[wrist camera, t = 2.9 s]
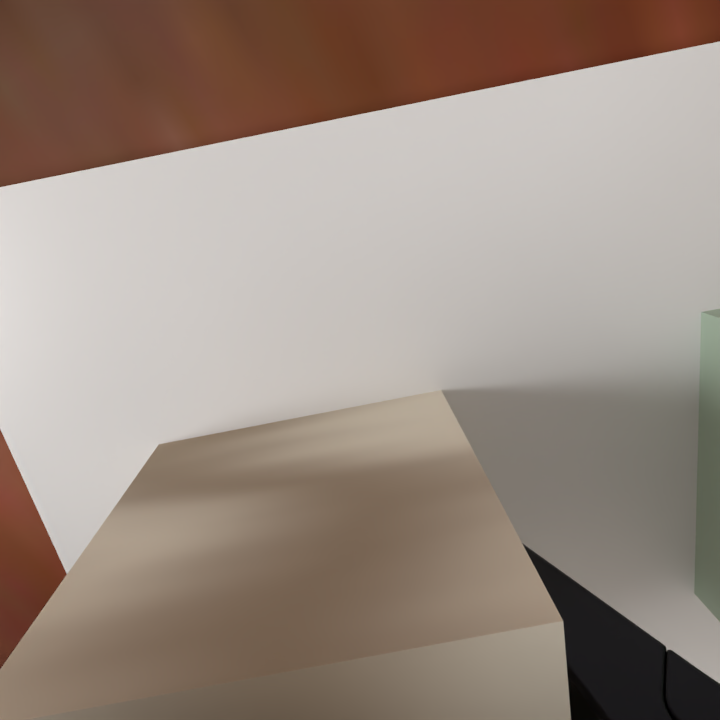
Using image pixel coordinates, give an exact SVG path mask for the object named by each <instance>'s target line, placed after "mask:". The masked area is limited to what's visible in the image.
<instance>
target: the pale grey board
mask: <svg viewBox="0 0 720 720" xmlns="http://www.w3.org/2000/svg"><path fill="white" fill-rule="evenodd" d="M715 309H720V42H715V43H710V44H705V45H700V46H695V47H690V48H685V49H680V50H675V51H670V52H665V53H661V54H656V55H651V56H646V57H641V58H636V59H631V60H626V61H621V62H616V63H611V64H606V65H601V66H596V67H591V68H586V69H582V70H577V71H572V72H567V73H562V74H557V75H552V76H547V77H542V78H537V79H532V80H527V81H522V82H517V83H512V84H508V85H503V86H498V87H493V88H488V89H483V90H478V91H473V92H468V93H463V94H458V95H453V96H448V97H443V98H438V99H434V100H429V101H424V102H419V103H414V104H409V105H404V106H399V107H394V108H389V109H384V110H379V111H374V112H369V113H364V114H359V115H355V116H350V117H345V118H340V119H335V120H330V121H325V122H320V123H315V124H310V125H305V126H300V127H295V128H290V129H285V130H281V131H276V132H271V133H266V134H261V135H256V136H251V137H246V138H241V139H236V140H231V141H226V142H221V143H216V144H211V145H207V146H202V147H197V148H192V149H187V150H182V151H177V152H172V153H167V154H162V155H157V156H152V157H147V158H142V159H137V160H132V161H128V162H123V163H118V164H113V165H108V166H103V167H98V168H93V169H88V170H83V171H78V172H73V173H68V174H63V175H58V176H54V177H49V178H44V179H39V180H34V181H29V182H24V183H19V184H14V185H9V186H4V187H0V429H1V432H2V434H3V436H4V438H5V440H6V442H7V445H8V447H9V449H10V451H11V453H12V455H13V458H14V460H15V462H16V464H17V466H18V469H19V471H20V473H21V475H22V477H23V479H24V482H25V484H26V486H27V488H28V490H29V493H30V495H31V497H32V499H33V501H34V503H35V506H36V508H37V510H38V512H39V514H40V516H41V519H42V521H43V523H44V525H45V527H46V530H47V532H48V534H49V536H50V538H51V540H52V543H53V545H54V547H55V549H56V551H57V554H58V556H59V558H60V560H61V562H62V564H63V567H64V569H65V571H66V573H67V574H68V572H69V571H70V570H71V568H72V567H73V565H74V564H75V562H76V561H77V560H78V558H79V557H80V555H81V554H82V552H83V551H84V550H85V548H86V547H87V545H88V544H89V543H90V541H91V540H92V538H93V537H94V535H95V534H96V533H97V531H98V530H99V528H100V527H101V526H102V524H103V523H104V521H105V520H106V518H107V517H108V516H109V514H110V513H111V511H112V510H113V509H114V507H115V506H116V504H117V503H118V501H119V500H120V499H121V497H122V496H123V494H124V493H125V491H126V490H127V489H128V487H129V486H130V484H131V483H132V482H133V480H134V479H135V477H136V476H137V474H138V473H139V472H140V470H141V469H142V467H143V466H144V465H145V463H146V462H147V460H148V459H149V457H150V456H151V455H152V453H153V452H154V450H155V449H156V447H157V446H158V445H159V444H163V443H169V442H174V441H179V440H184V439H189V438H195V437H200V436H205V435H210V434H215V433H221V432H226V431H231V430H236V429H241V428H247V427H252V426H257V425H262V424H267V423H273V422H278V421H283V420H288V419H293V418H299V417H304V416H309V415H314V414H319V413H325V412H330V411H335V410H340V409H345V408H350V407H356V406H361V405H366V404H371V403H376V402H382V401H387V400H392V399H397V398H402V397H408V396H413V395H418V394H423V393H428V392H434V391H439V390H441V391H442V392H443V394H444V396H445V398H446V400H447V402H448V404H449V406H450V408H451V410H452V411H453V413H454V415H455V417H456V419H457V421H458V423H459V425H460V427H461V428H462V430H463V432H464V434H465V436H466V438H467V440H468V442H469V444H470V445H471V447H472V449H473V451H474V453H475V455H476V457H477V459H478V461H479V463H480V464H481V466H482V468H483V470H484V472H485V474H486V476H487V478H488V480H489V481H490V483H491V485H492V487H493V489H494V491H495V493H496V495H497V497H498V498H499V500H500V502H501V504H502V506H503V508H504V510H505V512H506V514H507V516H508V517H509V519H510V521H511V523H512V525H513V527H514V529H515V531H516V533H517V534H518V536H519V538H520V540H521V542H522V543H523V544H524V545H526V546H527V547H528V548H530V549H531V550H533V551H534V552H535V553H537V554H538V555H540V556H541V557H542V558H544V559H545V560H547V561H548V562H549V563H551V564H552V565H554V566H555V567H556V568H558V569H559V570H561V571H562V572H563V573H565V574H566V575H568V576H569V577H570V578H572V579H573V580H574V581H576V582H577V583H579V584H580V585H581V586H583V587H584V588H586V589H587V590H588V591H590V592H591V593H593V594H594V595H595V596H597V597H598V598H600V599H601V600H602V601H604V602H605V603H607V604H608V605H609V606H611V607H612V608H614V609H615V610H616V611H618V612H619V613H621V614H622V615H623V616H625V617H626V618H627V619H629V620H630V621H632V622H633V623H634V624H636V625H637V626H639V627H640V628H641V629H643V630H644V631H646V632H647V633H648V634H650V635H651V636H653V637H654V638H655V639H657V640H658V641H660V642H661V643H662V644H664V645H665V646H666V649H667V650H672V651H674V652H675V653H677V654H678V655H679V656H681V657H682V658H684V659H685V660H686V661H688V662H689V663H691V664H692V665H693V666H695V667H696V668H698V669H699V670H701V671H702V672H703V673H705V674H706V675H708V676H709V677H711V678H712V679H714V680H715V681H717V682H718V683H720V622H719V621H718V619H717V618H716V617H715V616H714V615H713V614H712V613H711V612H710V610H709V609H708V608H707V607H706V606H705V605H704V604H703V603H702V602H701V600H700V599H699V598H698V597H697V596H696V595H695V594H694V584H695V543H696V503H697V463H698V423H699V383H700V343H701V312H704V311H709V310H715Z"/></svg>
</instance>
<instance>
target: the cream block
mask: <svg viewBox="0 0 720 720" xmlns="http://www.w3.org/2000/svg"><path fill="white" fill-rule="evenodd" d="M0 720H571V713H570V700H569V687H568V675H567V662H566V650H565V637H564V624H563V620H562V618H561V616H560V614H559V612H558V610H557V608H556V606H555V604H554V603H553V601H552V599H551V597H550V595H549V593H548V591H547V589H546V587H545V586H544V584H543V582H542V580H541V578H540V576H539V574H538V572H537V570H536V569H535V567H534V565H533V563H532V561H531V559H530V557H529V555H528V553H527V551H526V550H525V548H524V546H523V544H522V542H521V540H520V538H519V536H518V534H517V533H516V531H515V529H514V527H513V525H512V523H511V521H510V519H509V517H508V516H507V514H506V512H505V510H504V508H503V506H502V504H501V502H500V500H499V498H498V497H497V495H496V493H495V491H494V489H493V487H492V485H491V483H490V481H489V480H488V478H487V476H486V474H485V472H484V470H483V468H482V466H481V464H480V463H479V461H478V459H477V457H476V455H475V453H474V451H473V449H472V447H471V445H470V444H469V442H468V440H467V438H466V436H465V434H464V432H463V430H462V428H461V427H460V425H459V423H458V421H457V419H456V417H455V415H454V413H453V411H452V410H451V408H450V406H449V404H448V402H447V400H446V398H445V396H444V394H443V392H442V391H441V390H439V391H434V392H428V393H423V394H418V395H413V396H408V397H402V398H397V399H392V400H387V401H382V402H376V403H371V404H366V405H361V406H356V407H350V408H345V409H340V410H335V411H330V412H325V413H319V414H314V415H309V416H304V417H299V418H293V419H288V420H283V421H278V422H273V423H267V424H262V425H257V426H252V427H247V428H241V429H236V430H231V431H226V432H221V433H215V434H210V435H205V436H200V437H195V438H189V439H184V440H179V441H174V442H169V443H163V444H159V445H158V446H157V447H156V449H155V450H154V452H153V453H152V455H151V456H150V457H149V459H148V460H147V462H146V463H145V465H144V466H143V467H142V469H141V470H140V472H139V473H138V474H137V476H136V477H135V479H134V480H133V482H132V483H131V484H130V486H129V487H128V489H127V490H126V491H125V493H124V494H123V496H122V497H121V499H120V500H119V501H118V503H117V504H116V506H115V507H114V509H113V510H112V511H111V513H110V514H109V516H108V517H107V518H106V520H105V521H104V523H103V524H102V526H101V527H100V528H99V530H98V531H97V533H96V534H95V535H94V537H93V538H92V540H91V541H90V543H89V544H88V545H87V547H86V548H85V550H84V551H83V552H82V554H81V555H80V557H79V558H78V560H77V561H76V562H75V564H74V565H73V567H72V568H71V570H70V571H69V572H68V574H67V575H66V577H65V578H64V579H63V581H62V582H61V584H60V585H59V587H58V588H57V589H56V591H55V592H54V594H53V595H52V596H51V598H50V599H49V601H48V602H47V604H46V605H45V606H44V608H43V609H42V611H41V612H40V614H39V615H38V616H37V618H36V619H35V621H34V622H33V623H32V625H31V626H30V628H29V629H28V631H27V632H26V633H25V635H24V636H23V638H22V639H21V640H20V642H19V643H18V645H17V646H16V648H15V649H14V650H13V652H12V653H11V655H10V656H9V657H8V659H7V660H6V662H5V663H4V665H3V666H2V667H1V669H0Z"/></svg>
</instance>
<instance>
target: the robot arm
mask: <svg viewBox="0 0 720 720" xmlns="http://www.w3.org/2000/svg"><path fill="white" fill-rule="evenodd" d="M522 544H523V543H522ZM523 546H524V548H525V550H526V551H527V553H528V555H529V557H530V559H531V561H532V563H533V565H534V567H535V569H536V570H537V572H538V574H539V576H540V578H541V580H542V582H543V584H544V586H545V587H546V589H547V591H548V593H549V595H550V597H551V599H552V601H553V603H554V604H555V606H556V608H557V610H558V612H559V614H560V616H561V618H562V620H563V624H564V637H565V650H566V662H567V675H568V687H569V700H570V713H571V720H720V683H718V682H717V681H715V680H714V679H712V678H711V677H709V676H708V675H706V674H705V673H703V672H702V671H701V670H699V669H698V668H696V667H695V666H693V665H692V664H691V663H689V662H688V661H686V660H685V659H684V658H682V657H681V656H679V655H678V654H677V653H675V652H674V651H672V650H667V649H666V646H665V645H664V644H662V643H661V642H660V641H658V640H657V639H655V638H654V637H653V636H651V635H650V634H648V633H647V632H646V631H644V630H643V629H641V628H640V627H639V626H637V625H636V624H634V623H633V622H632V621H630V620H629V619H627V618H626V617H625V616H623V615H622V614H621V613H619V612H618V611H616V610H615V609H614V608H612V607H611V606H609V605H608V604H607V603H605V602H604V601H602V600H601V599H600V598H598V597H597V596H595V595H594V594H593V593H591V592H590V591H588V590H587V589H586V588H584V587H583V586H581V585H580V584H579V583H577V582H576V581H574V580H573V579H572V578H570V577H569V576H568V575H566V574H565V573H563V572H562V571H561V570H559V569H558V568H556V567H555V566H554V565H552V564H551V563H549V562H548V561H547V560H545V559H544V558H542V557H541V556H540V555H538V554H537V553H535V552H534V551H533V550H531V549H530V548H528V547H527V546H526V545H524V544H523Z"/></svg>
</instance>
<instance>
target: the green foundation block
mask: <svg viewBox="0 0 720 720" xmlns="http://www.w3.org/2000/svg"><path fill="white" fill-rule="evenodd" d="M694 594H695V595H696V596H697V597H698V598H699V599H700V600H701V602H702V603H703V604H704V605H705V606H706V607H707V608H708V609H709V610H710V612H711V613H712V614H713V615H714V616H715V617H716V618H717V619H718V621H719V622H720V309H715V310H709V311H704V312H701V343H700V383H699V423H698V463H697V503H696V543H695V584H694Z"/></svg>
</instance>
